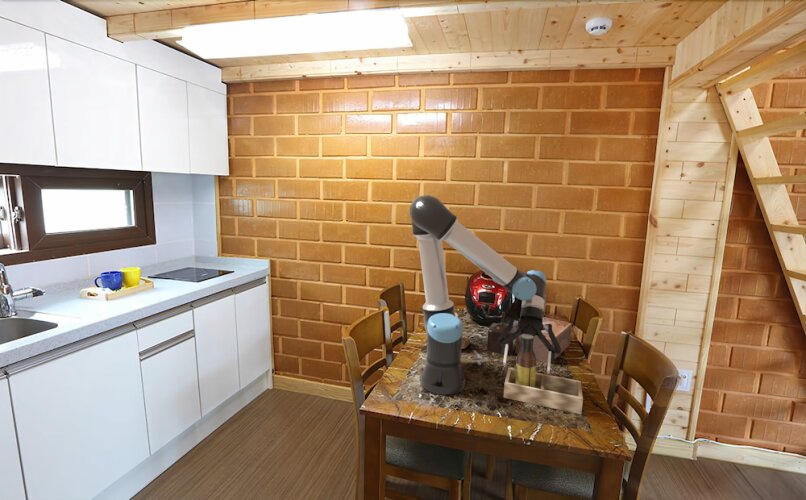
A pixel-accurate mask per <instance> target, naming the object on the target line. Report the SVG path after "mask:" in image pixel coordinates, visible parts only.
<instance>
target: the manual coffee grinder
mask: <svg viewBox="0 0 806 500" xmlns="http://www.w3.org/2000/svg"><path fill="white" fill-rule="evenodd" d="M490 307H491V305H490V304H489V303H487V302H485V303H482V304H481V309H482V311H483V315H485V317H486V318H488V319H500V318H501V321H500V322H498V323H496V322H492V324H491V325H490V326H489V328H488V330H487V346H486V351H487V352H489V353H495V354H499V355H502V353H501V350H502V345H501V344H498V338H499V336H500V335H501V334H502V332H503V331H504V330H505V329H506V327H507V326H508V325H509V323H506V321H505V317H506V315H505V314H506V313H505V311H501V315H489V314H490V313H491V312H490ZM516 330H517V326H515V327H513V328H512V330H511V331H510V333H509V334H508V335H507V336H506V338H507V337H509V336H510V335H511V334H513V333H514V332H515V331H516ZM506 338H505V339H506ZM505 339H504V340H505ZM515 347H516V339H515V340H513V341H512V342H511V343H509V344H508V354H507V356H512V355H513V354H514V351H515Z"/></svg>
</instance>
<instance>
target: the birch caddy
mask: <svg viewBox="0 0 806 500" xmlns="http://www.w3.org/2000/svg"><path fill="white" fill-rule="evenodd" d="M503 386H504V387H503V399H509V400H514V401H517V402H524V403H527V404H533V405H536V406H541V407H545V408H550V409H554V410H559V411H563V412H569V413H573V414H579V415H582V412H583V411H582V410H583V402H584V398H583V390H582V382H581V380H576V379H572V378H566V377H562V376H561V377H560V376H556V375H551V374H547V373H546V374H545V373H539V372H536V378H535V388H533V387H529V386H524V385H519V384H516V368H514V367H508V369H507V373H506V376H505V381H504V385H503Z"/></svg>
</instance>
